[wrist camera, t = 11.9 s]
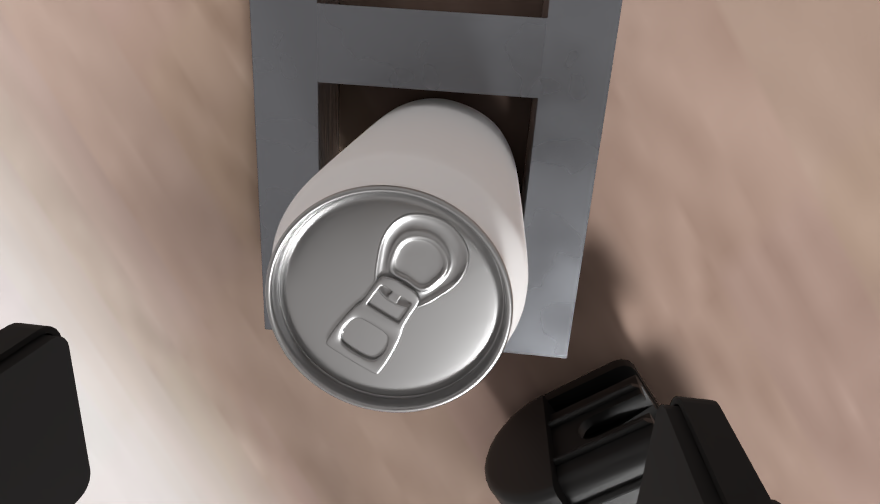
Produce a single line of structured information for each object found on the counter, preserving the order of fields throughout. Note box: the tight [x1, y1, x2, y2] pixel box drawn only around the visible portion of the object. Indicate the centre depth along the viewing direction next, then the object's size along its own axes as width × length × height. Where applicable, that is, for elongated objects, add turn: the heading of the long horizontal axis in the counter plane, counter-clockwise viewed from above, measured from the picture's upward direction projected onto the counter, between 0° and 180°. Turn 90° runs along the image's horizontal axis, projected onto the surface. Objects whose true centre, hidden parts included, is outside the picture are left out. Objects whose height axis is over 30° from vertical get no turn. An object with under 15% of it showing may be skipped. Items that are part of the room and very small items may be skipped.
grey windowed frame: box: [250, 0, 622, 358], centre depth 22 cm, size 12×22×3 cm, turn 177°
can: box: [265, 98, 528, 413], centre depth 19 cm, size 6×6×12 cm
